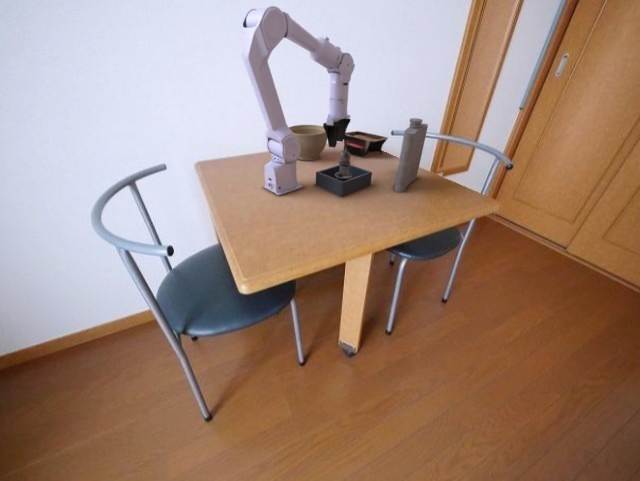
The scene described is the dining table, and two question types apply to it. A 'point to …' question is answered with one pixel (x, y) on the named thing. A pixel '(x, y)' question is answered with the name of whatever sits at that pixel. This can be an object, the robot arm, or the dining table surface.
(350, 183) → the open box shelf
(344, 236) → the dining table surface
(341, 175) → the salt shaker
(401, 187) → the hip flask
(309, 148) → the planter bowl
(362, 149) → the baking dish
